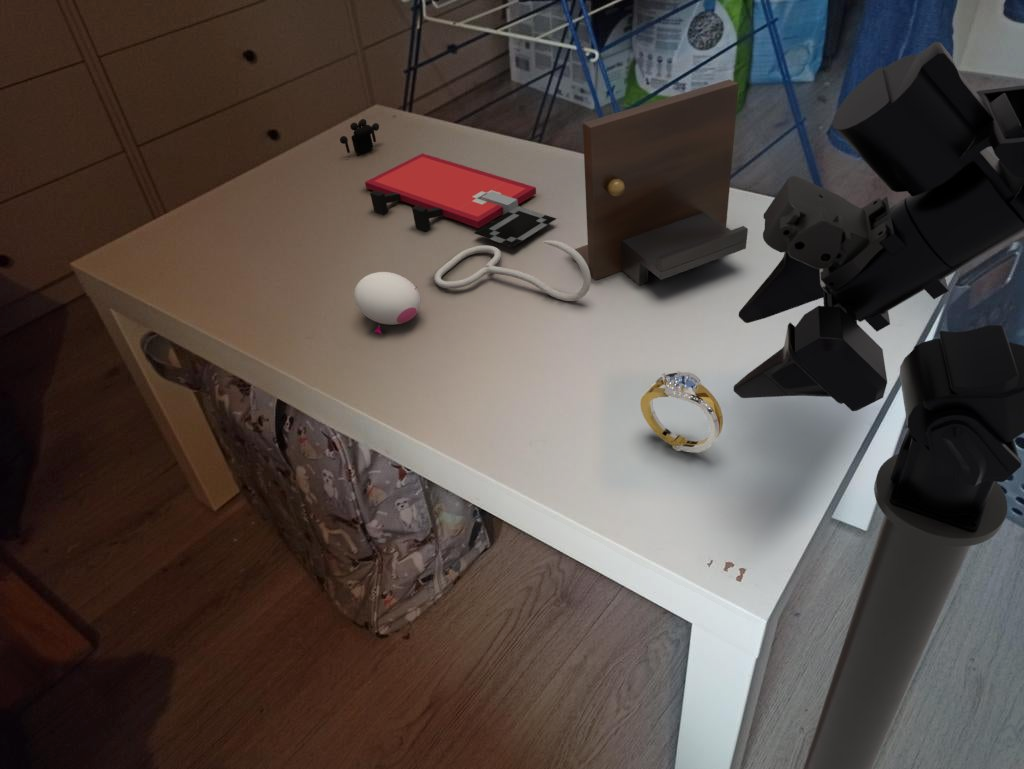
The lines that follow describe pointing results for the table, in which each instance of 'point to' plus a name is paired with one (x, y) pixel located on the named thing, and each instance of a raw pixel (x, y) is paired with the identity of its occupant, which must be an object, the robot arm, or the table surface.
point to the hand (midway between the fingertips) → (739, 353)
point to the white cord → (515, 271)
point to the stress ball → (387, 298)
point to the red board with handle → (459, 198)
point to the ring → (682, 389)
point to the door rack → (661, 185)
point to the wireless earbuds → (361, 137)
